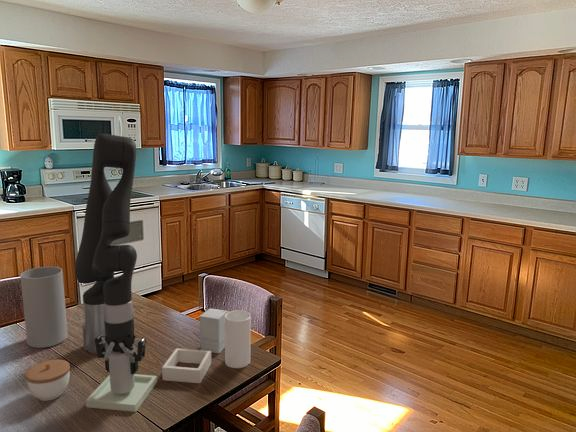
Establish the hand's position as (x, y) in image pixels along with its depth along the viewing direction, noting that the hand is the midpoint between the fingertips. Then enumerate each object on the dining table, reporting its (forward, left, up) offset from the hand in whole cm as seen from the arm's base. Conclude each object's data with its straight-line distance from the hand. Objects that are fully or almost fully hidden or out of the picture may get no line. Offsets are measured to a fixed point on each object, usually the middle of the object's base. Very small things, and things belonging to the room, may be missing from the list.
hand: (122, 371), depth 121 cm
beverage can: (0, 0, -5) cm, 5 cm away
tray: (0, 0, -7) cm, 7 cm away
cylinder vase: (-41, +26, -7) cm, 49 cm away
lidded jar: (-20, -3, -7) cm, 21 cm away
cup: (+28, +22, -7) cm, 36 cm away
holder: (+14, +14, -7) cm, 21 cm away
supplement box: (+18, +30, -7) cm, 36 cm away
